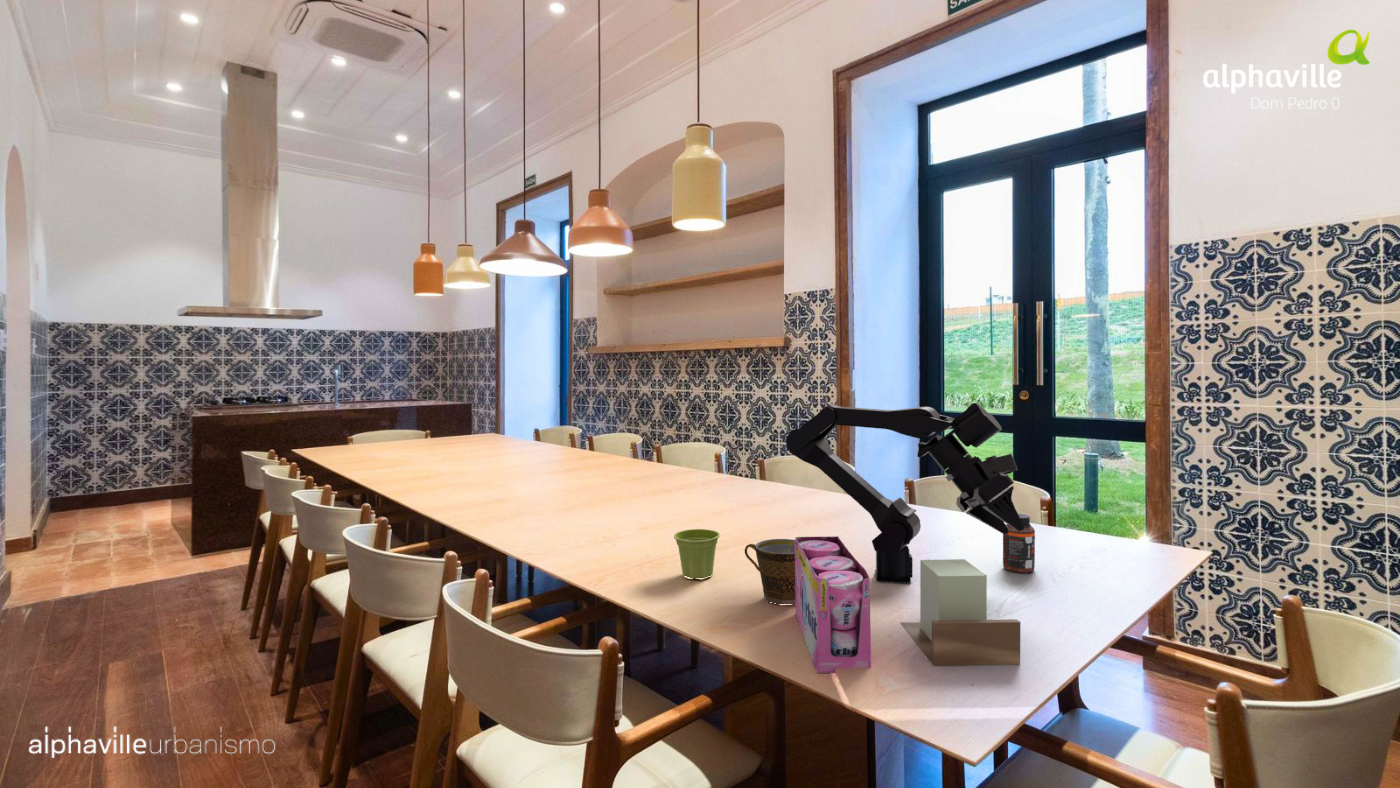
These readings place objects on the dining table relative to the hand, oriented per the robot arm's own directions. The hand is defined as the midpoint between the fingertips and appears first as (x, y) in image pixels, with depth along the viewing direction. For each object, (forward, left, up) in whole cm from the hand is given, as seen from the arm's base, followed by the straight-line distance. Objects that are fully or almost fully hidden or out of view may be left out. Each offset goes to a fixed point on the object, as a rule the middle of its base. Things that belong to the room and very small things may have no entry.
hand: (1014, 531), depth 118 cm
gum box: (-33, -24, -12) cm, 43 cm away
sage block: (-14, -23, -11) cm, 29 cm away
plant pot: (-60, +3, -12) cm, 61 cm away
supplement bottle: (+5, +18, -12) cm, 22 cm away
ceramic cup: (-43, -7, -12) cm, 45 cm away
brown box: (-14, -24, -12) cm, 30 cm away
